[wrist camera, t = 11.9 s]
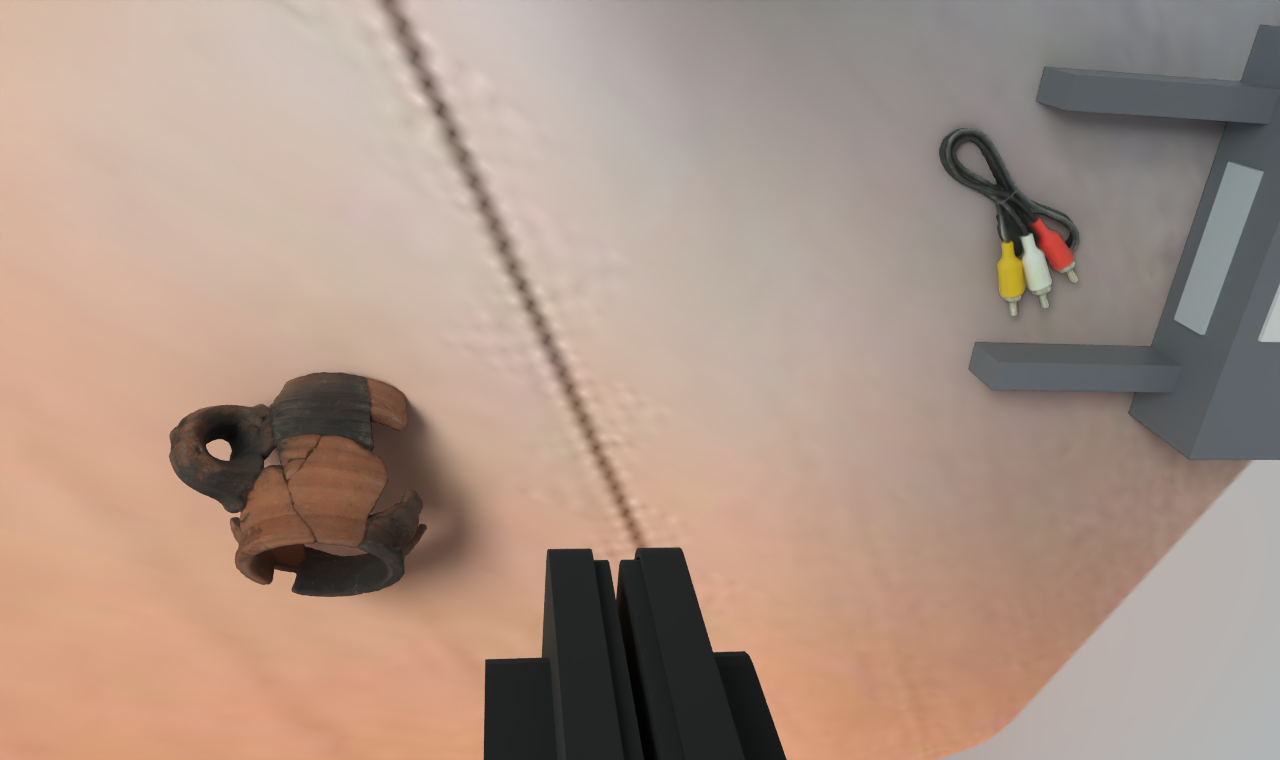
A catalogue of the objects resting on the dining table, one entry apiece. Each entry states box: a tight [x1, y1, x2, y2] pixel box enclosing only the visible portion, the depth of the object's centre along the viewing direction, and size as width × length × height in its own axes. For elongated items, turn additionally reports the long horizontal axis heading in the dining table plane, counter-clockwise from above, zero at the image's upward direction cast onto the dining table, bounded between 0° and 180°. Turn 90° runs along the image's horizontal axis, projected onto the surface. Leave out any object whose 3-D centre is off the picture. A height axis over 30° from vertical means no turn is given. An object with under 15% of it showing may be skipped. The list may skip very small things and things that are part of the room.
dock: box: [969, 25, 1280, 460], centre depth 44 cm, size 20×16×5 cm
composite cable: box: [939, 128, 1079, 316], centre depth 44 cm, size 10×5×2 cm, turn 30°
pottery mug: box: [169, 372, 427, 597], centre depth 43 cm, size 12×10×8 cm
